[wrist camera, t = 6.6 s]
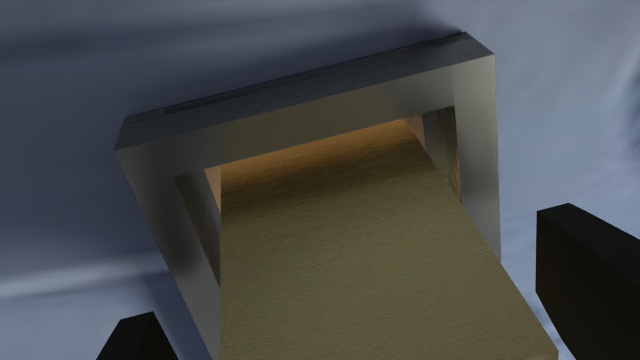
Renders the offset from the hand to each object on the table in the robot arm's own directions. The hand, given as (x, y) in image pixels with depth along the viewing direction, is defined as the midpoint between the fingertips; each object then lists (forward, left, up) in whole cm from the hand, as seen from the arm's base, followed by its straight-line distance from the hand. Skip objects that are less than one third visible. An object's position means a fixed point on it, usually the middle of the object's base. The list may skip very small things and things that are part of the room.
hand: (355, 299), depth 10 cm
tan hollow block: (0, 0, -2) cm, 3 cm away
